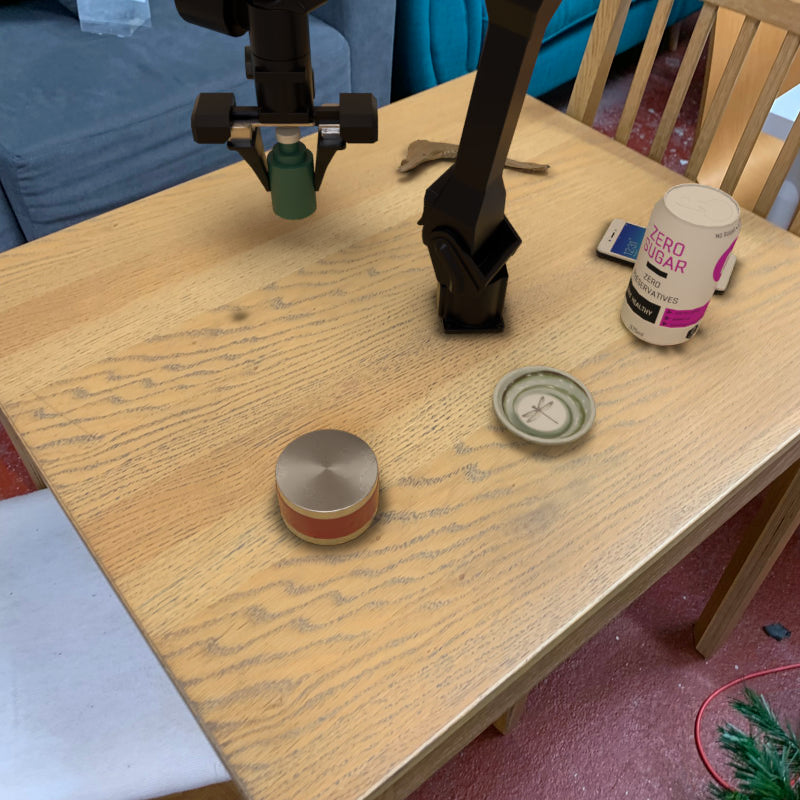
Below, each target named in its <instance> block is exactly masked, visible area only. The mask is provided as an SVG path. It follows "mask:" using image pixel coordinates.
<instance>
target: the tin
mask: <svg viewBox="0 0 800 800" xmlns="http://www.w3.org/2000/svg"><path fill="white" fill-rule="evenodd" d="M275 463H276V464H275V466H274V467H275V468H274V477H275V478H274V479H275V488H276V492H277V501H278V506H279V510H280V515H281V517H282V520H283V522H284V524H285V526H286V527H287V529H288V530H289V531H290V532H291V533H292V534H294V535H295V536H296V537H298V538H299V539H301V540H303V541H305V542H307V543H310V544H314V545H319V546H334V545H341V544H344V543H347V542H350V541H353V540H354V539H356V538H357V537H360V536H361V535H362V534H363V533H364V532H366V530H367V529H368V528H369V527H370V526H371V525H372V524H373V522H374V520H375V518H376V515H377V513H378V509H379V508H378V507H379V496H380V494H379V493H380V473H379V463H378V458H377V456H376V453H375V451H374V450H373V449H372V447H371V446H370V445H369V444H368V443H367V442H366V441H365V440H363V439H362V438H361V437H359V436H358V435H356V434H354V433H351V432H348V431H346V430H343V429H336V428H335V429H334V428H326V429H325V428H324V429H317V430H313V431H309V432H306V433H304V434H301V435H299V436H298V437H296V438H295V439H293V440H292V441H291V442H289V443H288V444H287V445H286V446H285V447H284V448H283V450H282V451H281V452H280V454H279V456H278V458H277V460H276V462H275Z"/></svg>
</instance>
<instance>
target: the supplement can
mask: <svg viewBox="0 0 800 800" xmlns="http://www.w3.org/2000/svg"><path fill="white" fill-rule="evenodd" d="M740 215H741V207H740V205H739V202H738V201H737V200H736V199H735V198H734V197H733V196H732V195H730V194H729V193H727V192H726V191H724V190H722V189H720V188H717V187H714V186H711V185H710V184H709V185H708V184H702V183H696V182H695V183H692V182H691V183H689V182H688V183H680V184H677V185H673V186H671V187H670V188H668V189H667V190H666V191H665V193H664V195H663V196H662V197H660V198H659V199H658V200H657V201H656V202H655V203H654V205H653V208H652V210H651V213H650V217H649V220H648V223H647V226H646V227H647V228H646V232H645V235H644V238H643V241H642V244H641V247H640V250H639V253H638V256H637V259H636V262H635V266H634V267H633V268H632V271H631V275H630V278H629V281H628V284H627V287H626V291H625V294H624V297H623V299H622V303H621V305H620V309H619V313H620V320H621V321H622V323H623V325H624V326H625V328H626V329H627V330H628V331H629V332H630V333H631V334H632V335H634V336H635V337H636V338H637V339H639V340H642V341H644V342H646V343H648V344H651V345H655V346H674V345H680V344H682V343H685V342H688V341H690V340H691V339H692V338H693V337H694V336H695V335H696V334H697V332H698V330H699V328H700V325H701V323H702V321H703V319H704V316H705V314H706V312H707V309H708V307H709V305H710V302H711V300H712V297H713V295H714V294H715V293H714V291H715V289H716V286H717V284H718V282H719V279H720V277H721V275H722V273H723V270H724V268H725V266H726V263H727V261H728V259H729V257H730V254H731V253H732V252H733V251H734V247H735V245H736V243H737V241H738V238H739V236H740V234H741V230H742V219H741V216H740Z"/></svg>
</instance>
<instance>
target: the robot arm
mask: <svg viewBox="0 0 800 800" xmlns="http://www.w3.org/2000/svg"><path fill="white" fill-rule="evenodd" d="M328 1H329V0H173V2H174V6H175V9H176V12H177V13H178V15H179V17H180V18H181V19H182V20H183V21H185V22H186V23H187V24H191V25H194V26H198V27H200V28H203V29H206V30H209V31H213V32H215V33H220V34H221V35H222V34H223V35H226V36H228V37H232V38H240V37H243V36H244V35H246V34H247V33H248V38H249V39H248V40H249V45H245V46H244V69H245V77H246V79H247V80H253V81H254V82H253V83H254V90H255V99H256V105H237V99H236V96H235V94H234V92H200V93H199V94H198V95H197V96H196V98H195V100H194V104H193V108H192V112H191V116H190V129H191V133H192V134H191V135H192V139H193V142H194V143H196V144H198V145H225V144H226V148H227V150H228V151H232V152H233V151H234V152H237V153H238V154H239V156H241V158H242V159H243V160H244V161H245V162H246V163H247V165H248V166H249V167H250V168H251V170H252V172H254V174H255V176H256V178H257V179H258V180H259V182H260V183H261V185H262V186H263V188H264V190H265V191H266V192H267V193H271V192H270V183H269V175H268V166H267V155H266V150H265V147H264V143H263V138H262V137H263V136H262V129H261V127H278V126H298V127H318V128H317V142H316V154H315V161H314V172H315V176H314V186H315V191H316V192H319V191H320V188H321V186H322V183H323V180H324V178H325V175H326V172H327V169H328V167H329V165H330V163H331V161H332V160H333V158H334V156H335V155H336V154H337V152H338V151H345V150H346V149H347V144H349V145H351V144H352V145H353V144H354V145H355V144H357V145H359V144H360V145H361V144H364V145H367V144H368V145H369V144H375V143H377V142H378V141H379V112H378V111H379V110H378V99H377V97H376V96H375V95H374V94H373V93H372V92H338V93H339V98H338V99H339V100H338V101H339V103H338V102H336V103H335V102H333V103H331V102H328V103H323V104H321V105H315V101H314V100H315V99H316V83H315V81H316V80H315V71H314V68H313V66H312V52H311V51H312V50H311V36H310V35H311V34H310V21H309V19H310V18H309V13H311V12H313V11H315V10H316V9H318V8H320V7H321V6H323V5H325V4H326V3H328ZM563 1H564V0H484V4H485V10H486V14H487V27H486V28H487V29H486V32H485V35H484V36H485V37H484V40H483V45H482V48H481V52H480V57H479V61H478V64H477V69H476V74H475V78H474V81H473V84H472V85H473V86H472V90H471V94H470V99H469V102H468V107H467V111H466V115H465V119H464V123H463V127H462V130H461V135H460V139H459V144H458V145H459V147H458V152H457V156H456V158H455V161H454V163H452V165H450V166H449V167H448V168H446V170H445V171H444V172H443V173H442V174H441V175H440V176H439V177H438V178H436V179H435V180H434V182H433V183H431V184H430V185H429V186H428V187H427V188H426V189H425V193H424V197H423V210H422V214H421V217H420V218H419V220H418V221H417V222H416V225H417V226H422V228H421V240H422V243H423V245H424V246H426V247H427V250H428V254H429V258H430V262H431V264H432V268H433V272H434V276H435V278H436V281H437V283H436V294H435V295H436V297H435V305H436V312H437V316H438V317H439V318H441V323H442V324H441V325H442V331H443V332H444V333H446V334H469V333H470V334H474V333H475V334H477V333H479V334H480V333H484V334H485V333H503V332H504V331H505V327H506V325H505V321H504V320H505V319H504V315H503V312H504V307H505V301H506V295H507V291H508V290H507V288H508V283H509V279H510V278H509V277H510V276H509V271H508V268H507V262H508V261H509V260H510V259H511V257H513V256H514V255H515V254H516V253H517V251H518V250H519V248H520V246H521V245H522V243H523V240H522V238H521V236H520V235H519V233H518V231H516V228H514V226H513V224H512V223H511V221H510V220H509V218H508V217H507V215H506V214H505V211H506V210H505V209H506V201H507V190H506V185H505V182H504V177H503V173H504V168H505V162H506V159H507V158H508V156H509V152H510V149H511V145H512V142H513V139H514V135H515V131H516V130H517V129H516V128H517V125H518V122H519V119H520V116H521V112H522V109H523V107H524V103H525V99H526V96H527V93H528V89H529V87H530V83H531V80H532V77H533V73H534V70H535V66H536V63H537V59H538V57H539V53H540V50H541V48H542V43H543V40H544V36H545V33H546V31H547V28H548V26H549V24H550V22H551V20H552V19H553V17H554V15H555V13H556V12H557V10H558V9H559V8H560V7H561V4H562V2H563Z"/></svg>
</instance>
